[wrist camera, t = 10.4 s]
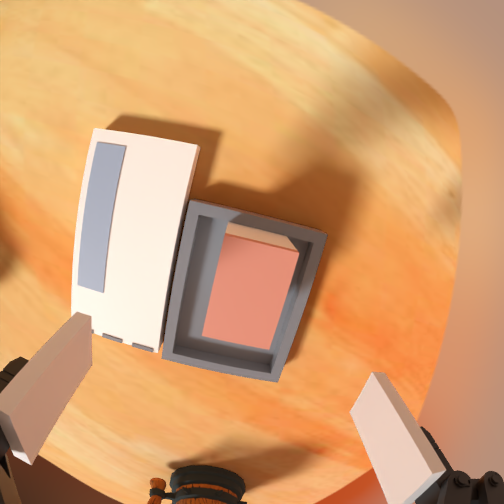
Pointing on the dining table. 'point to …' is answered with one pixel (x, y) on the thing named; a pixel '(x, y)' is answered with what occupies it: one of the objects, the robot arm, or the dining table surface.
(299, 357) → the dining table surface
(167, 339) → the tray
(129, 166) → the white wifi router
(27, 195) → the dining table surface
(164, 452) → the dining table surface
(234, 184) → the dining table surface
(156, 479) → the mug
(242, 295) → the block
